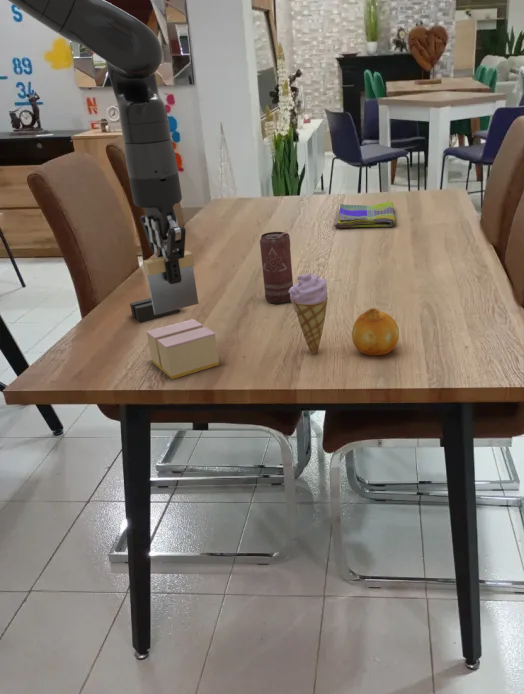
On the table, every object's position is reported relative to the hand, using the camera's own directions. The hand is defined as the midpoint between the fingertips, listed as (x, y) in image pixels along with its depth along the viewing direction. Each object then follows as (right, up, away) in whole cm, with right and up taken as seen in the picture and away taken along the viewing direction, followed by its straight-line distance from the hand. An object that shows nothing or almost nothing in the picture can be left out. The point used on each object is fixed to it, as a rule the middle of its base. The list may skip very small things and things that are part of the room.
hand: (171, 280), depth 115 cm
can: (+16, +3, +34) cm, 38 cm away
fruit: (+35, -11, +8) cm, 37 cm away
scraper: (0, -4, +3) cm, 5 cm away
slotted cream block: (+1, -13, +8) cm, 15 cm away
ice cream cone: (+23, -11, +9) cm, 27 cm away
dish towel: (+39, +38, +92) cm, 107 cm away
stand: (-10, -1, +30) cm, 32 cm away
